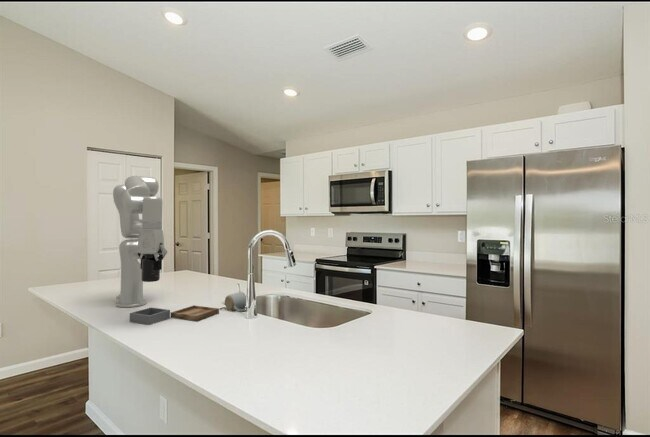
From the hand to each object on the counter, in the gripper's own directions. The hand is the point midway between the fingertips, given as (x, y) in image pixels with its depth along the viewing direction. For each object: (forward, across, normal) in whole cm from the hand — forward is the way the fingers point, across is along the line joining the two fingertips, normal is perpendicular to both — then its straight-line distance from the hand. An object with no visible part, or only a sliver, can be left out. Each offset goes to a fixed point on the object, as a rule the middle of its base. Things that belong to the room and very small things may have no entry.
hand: (151, 269), depth 147 cm
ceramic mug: (+21, +23, +29) cm, 43 cm away
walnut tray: (+21, +12, +13) cm, 27 cm away
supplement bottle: (+5, 0, 0) cm, 5 cm away
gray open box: (+21, 0, 0) cm, 21 cm away
